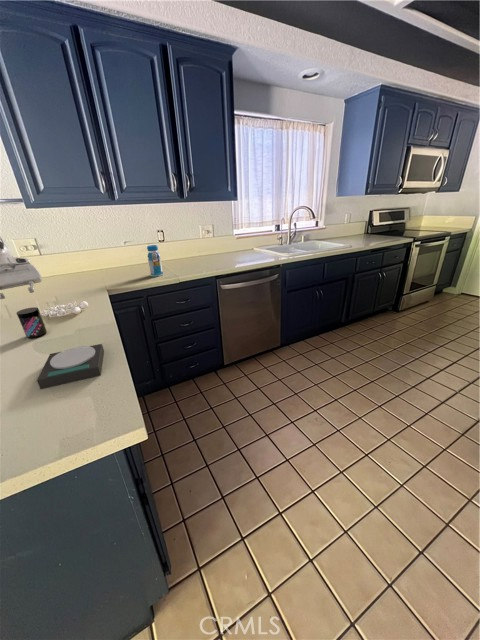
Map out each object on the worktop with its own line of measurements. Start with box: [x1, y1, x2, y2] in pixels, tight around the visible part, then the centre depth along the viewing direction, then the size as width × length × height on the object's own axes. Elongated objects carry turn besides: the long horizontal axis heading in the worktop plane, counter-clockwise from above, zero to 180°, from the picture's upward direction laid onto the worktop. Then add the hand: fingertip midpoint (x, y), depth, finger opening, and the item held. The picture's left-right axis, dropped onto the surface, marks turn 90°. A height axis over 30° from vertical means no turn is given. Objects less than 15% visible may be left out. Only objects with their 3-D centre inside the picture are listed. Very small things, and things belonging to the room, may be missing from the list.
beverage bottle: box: [146, 244, 164, 277], centre depth 180 cm, size 8×8×20 cm
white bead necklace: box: [40, 300, 89, 318], centre depth 123 cm, size 19×14×4 cm
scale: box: [36, 343, 105, 390], centre depth 80 cm, size 15×15×4 cm
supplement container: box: [16, 306, 48, 340], centre depth 101 cm, size 7×7×10 cm
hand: (17, 295), depth 104 cm, fingers open, 8 cm apart
